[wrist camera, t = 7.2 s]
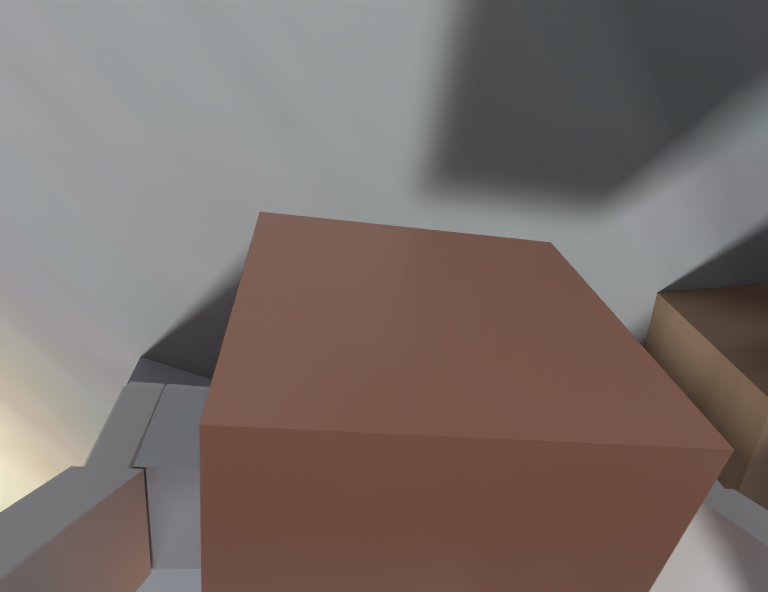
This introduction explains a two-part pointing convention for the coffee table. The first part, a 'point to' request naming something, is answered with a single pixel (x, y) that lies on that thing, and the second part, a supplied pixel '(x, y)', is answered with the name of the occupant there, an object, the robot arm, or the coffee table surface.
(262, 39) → the coffee table surface
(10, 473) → the coffee table surface
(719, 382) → the walnut cube
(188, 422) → the robot arm
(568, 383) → the terracotta cube
